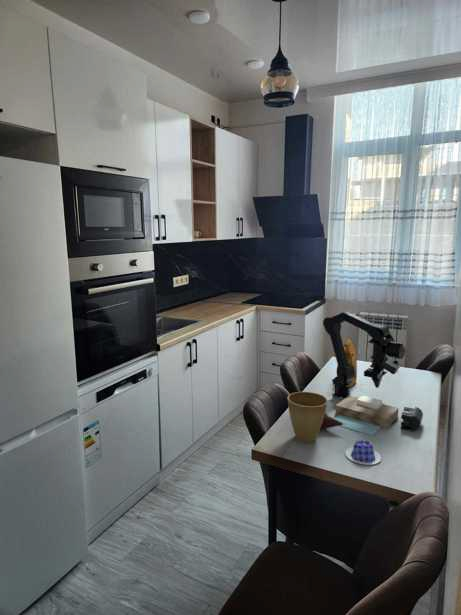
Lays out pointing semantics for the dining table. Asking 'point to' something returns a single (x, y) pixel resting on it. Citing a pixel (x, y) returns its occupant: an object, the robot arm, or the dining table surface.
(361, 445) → the pudding
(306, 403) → the plant pot
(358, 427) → the mat
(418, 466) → the dining table surface
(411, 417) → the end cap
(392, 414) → the tan flat block
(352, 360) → the coffee package
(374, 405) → the white box
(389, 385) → the dining table surface
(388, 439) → the dining table surface
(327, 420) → the icecream
